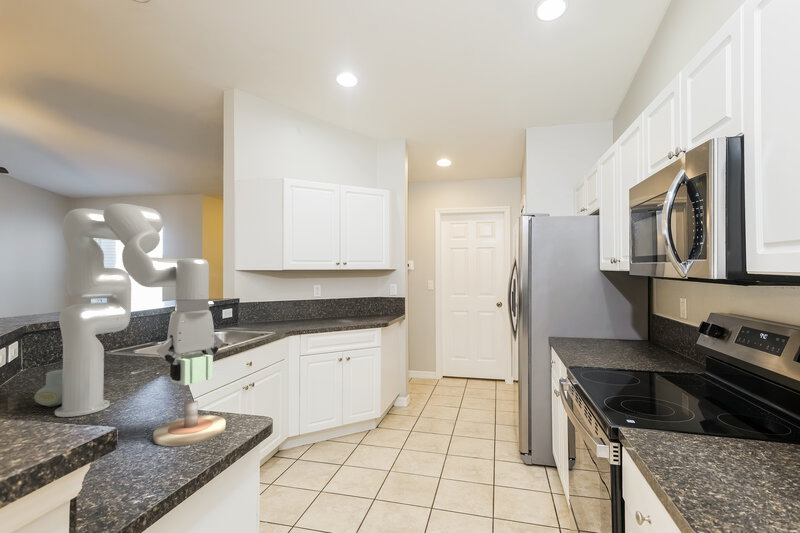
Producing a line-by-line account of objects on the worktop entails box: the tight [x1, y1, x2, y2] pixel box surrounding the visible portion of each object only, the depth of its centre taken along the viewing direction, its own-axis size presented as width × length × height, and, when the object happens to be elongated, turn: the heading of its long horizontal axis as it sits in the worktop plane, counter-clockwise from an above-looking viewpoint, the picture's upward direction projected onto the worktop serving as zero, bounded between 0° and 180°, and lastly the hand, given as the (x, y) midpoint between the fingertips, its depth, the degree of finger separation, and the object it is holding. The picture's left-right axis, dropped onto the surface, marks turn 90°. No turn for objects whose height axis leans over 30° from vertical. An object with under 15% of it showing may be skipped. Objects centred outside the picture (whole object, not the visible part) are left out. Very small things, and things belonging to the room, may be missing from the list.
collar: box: [170, 352, 214, 386], centre depth 98 cm, size 7×7×6 cm
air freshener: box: [34, 368, 63, 407], centre depth 121 cm, size 11×8×10 cm
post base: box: [152, 400, 227, 447], centre depth 97 cm, size 16×16×8 cm
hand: (191, 376), depth 98 cm, fingers closed on collar, 7 cm apart
